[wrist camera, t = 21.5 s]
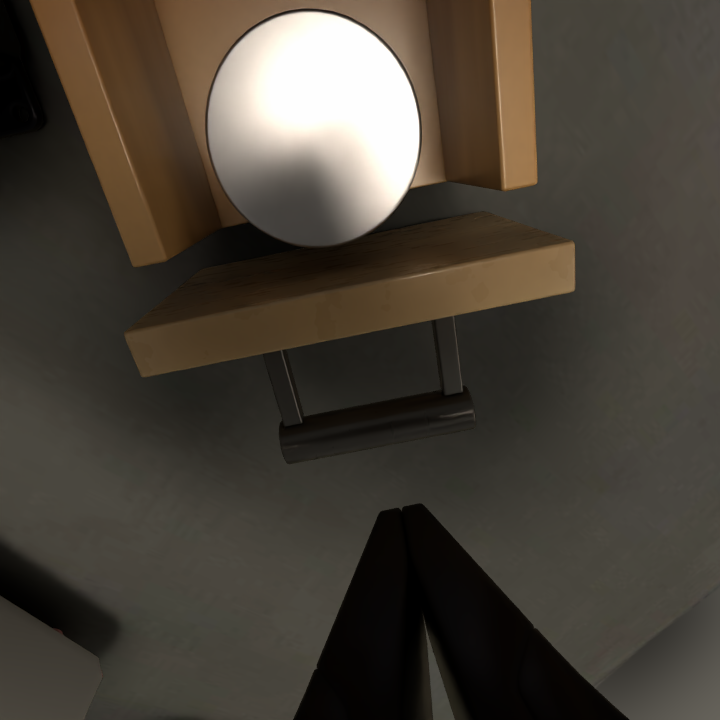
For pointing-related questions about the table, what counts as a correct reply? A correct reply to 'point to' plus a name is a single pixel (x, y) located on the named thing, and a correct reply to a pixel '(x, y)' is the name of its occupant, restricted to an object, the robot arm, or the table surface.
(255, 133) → the tin
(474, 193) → the table surface
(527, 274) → the drawer
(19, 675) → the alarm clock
